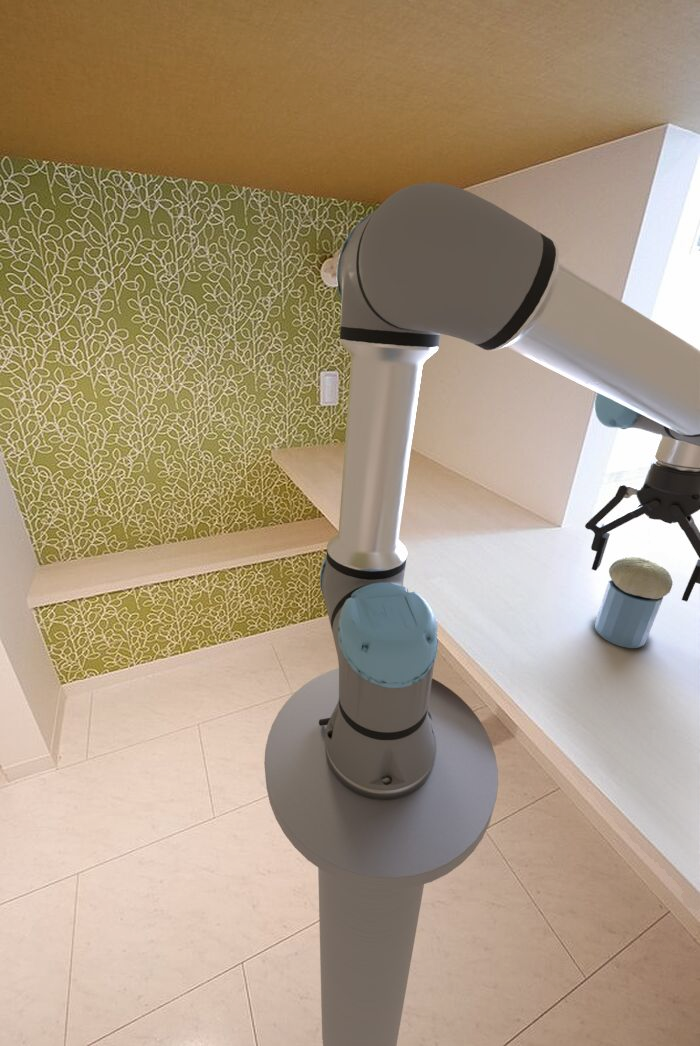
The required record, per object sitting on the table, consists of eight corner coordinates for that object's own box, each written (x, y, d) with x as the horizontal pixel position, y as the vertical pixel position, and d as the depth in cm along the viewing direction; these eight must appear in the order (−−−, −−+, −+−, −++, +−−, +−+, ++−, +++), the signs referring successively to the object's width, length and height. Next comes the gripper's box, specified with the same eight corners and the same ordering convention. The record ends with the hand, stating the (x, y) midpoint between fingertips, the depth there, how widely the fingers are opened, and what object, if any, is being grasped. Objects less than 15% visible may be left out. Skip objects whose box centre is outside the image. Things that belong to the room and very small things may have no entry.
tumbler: (589, 633, 80) (603, 587, 75) (601, 613, 85) (615, 569, 81) (640, 655, 75) (659, 607, 70) (649, 632, 80) (667, 587, 76)
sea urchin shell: (636, 559, 81) (673, 547, 73) (651, 601, 78) (691, 593, 71) (594, 563, 79) (628, 551, 71) (608, 607, 76) (644, 599, 69)
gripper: (791, 477, 61) (731, 601, 70) (598, 443, 76) (570, 549, 85) (792, 491, 56) (727, 623, 65) (586, 452, 71) (556, 563, 80)
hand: (638, 581), depth 75 cm, fingers open, 13 cm apart
